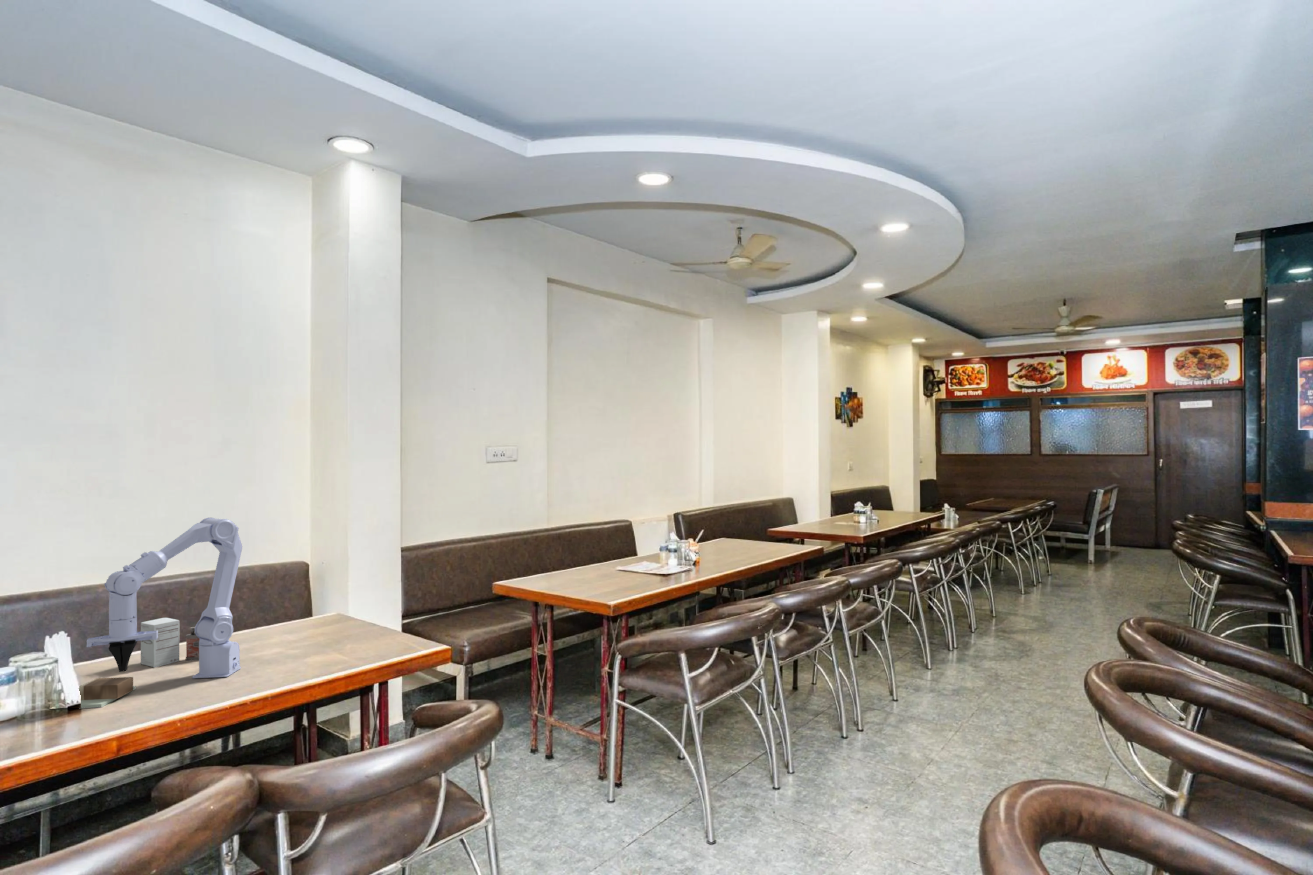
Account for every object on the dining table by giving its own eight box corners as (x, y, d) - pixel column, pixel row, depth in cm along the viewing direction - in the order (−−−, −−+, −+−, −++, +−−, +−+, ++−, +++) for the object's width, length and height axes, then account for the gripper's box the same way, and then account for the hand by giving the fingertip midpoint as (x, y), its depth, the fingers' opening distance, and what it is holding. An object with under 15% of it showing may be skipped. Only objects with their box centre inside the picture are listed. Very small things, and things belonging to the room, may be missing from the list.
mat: (135, 688, 184) (135, 682, 184) (101, 707, 172) (101, 699, 172) (87, 690, 183) (87, 684, 183) (49, 709, 170) (49, 702, 170)
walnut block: (133, 676, 181) (96, 678, 180) (117, 684, 175) (79, 686, 174) (133, 690, 181) (96, 691, 180) (117, 698, 175) (79, 700, 174)
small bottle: (183, 661, 208) (183, 628, 208) (188, 657, 212) (188, 625, 212) (214, 658, 211) (213, 625, 211) (217, 655, 214) (217, 623, 214)
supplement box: (139, 664, 206) (139, 622, 206) (166, 657, 212) (166, 616, 212) (153, 668, 202) (153, 624, 202) (180, 661, 209) (180, 619, 209)
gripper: (160, 611, 185) (160, 662, 185) (91, 618, 179) (92, 670, 178) (155, 616, 179) (155, 669, 179) (84, 624, 172) (84, 678, 172)
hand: (123, 670), depth 178 cm, fingers closed
